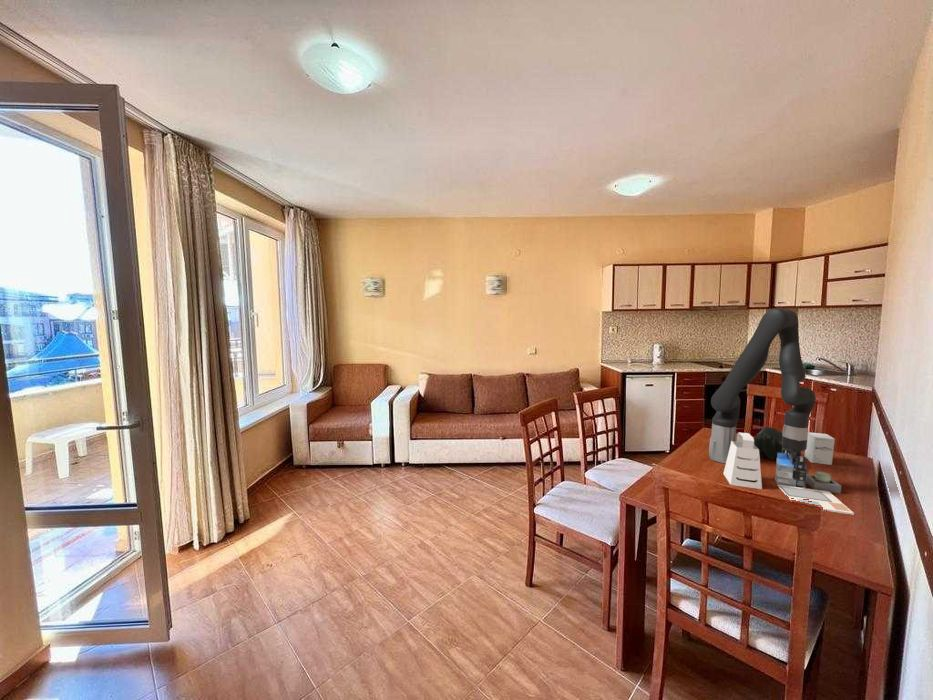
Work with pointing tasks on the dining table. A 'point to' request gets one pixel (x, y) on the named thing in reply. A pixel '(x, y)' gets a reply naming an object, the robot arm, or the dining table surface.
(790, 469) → the label tape box
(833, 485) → the button housing
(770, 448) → the squash
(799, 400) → the robot arm
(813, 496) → the picture board
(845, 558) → the dining table surface
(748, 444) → the grater
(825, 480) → the button
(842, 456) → the dining table surface
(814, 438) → the supplement box
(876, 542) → the dining table surface
